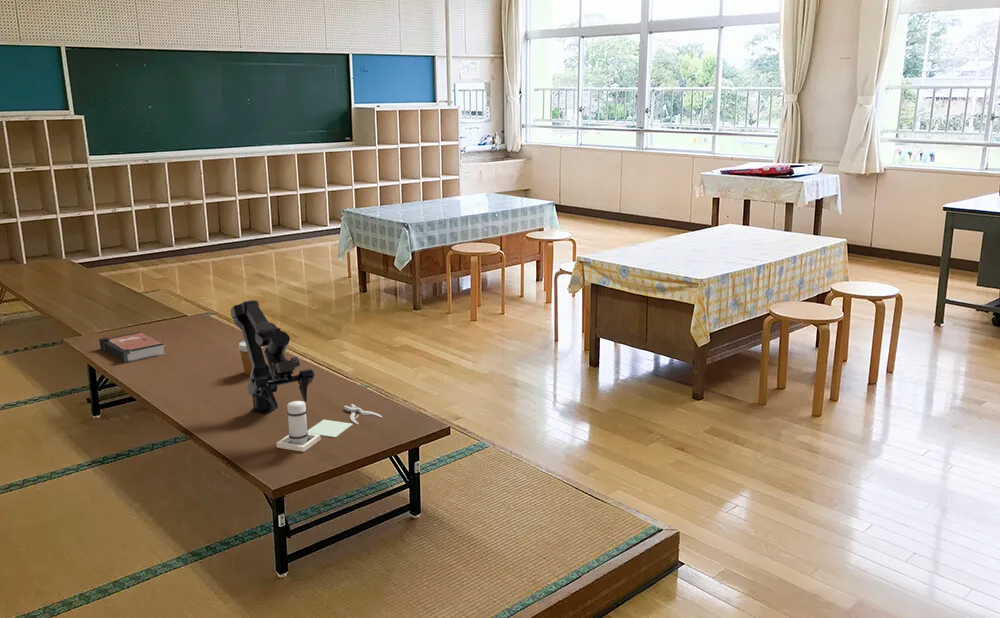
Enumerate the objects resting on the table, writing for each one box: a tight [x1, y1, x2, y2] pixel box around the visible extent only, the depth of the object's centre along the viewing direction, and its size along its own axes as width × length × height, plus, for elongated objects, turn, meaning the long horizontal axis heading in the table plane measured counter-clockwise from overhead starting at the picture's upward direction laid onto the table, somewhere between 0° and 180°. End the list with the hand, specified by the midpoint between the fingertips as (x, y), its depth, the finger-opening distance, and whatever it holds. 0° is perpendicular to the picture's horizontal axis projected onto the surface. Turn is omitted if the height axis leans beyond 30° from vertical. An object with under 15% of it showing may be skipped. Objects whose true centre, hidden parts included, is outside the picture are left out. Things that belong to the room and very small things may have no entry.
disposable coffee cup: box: [237, 340, 264, 376], centre depth 313 cm, size 10×10×12 cm
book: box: [98, 331, 167, 364], centre depth 340 cm, size 26×18×5 cm
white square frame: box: [276, 433, 322, 453], centre depth 251 cm, size 10×10×2 cm
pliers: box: [343, 403, 384, 425], centre depth 274 cm, size 10×2×15 cm
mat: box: [307, 419, 354, 439], centre depth 262 cm, size 11×11×1 cm
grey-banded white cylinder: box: [286, 400, 309, 445], centre depth 249 cm, size 6×6×13 cm
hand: (291, 405), depth 252 cm, fingers open, 9 cm apart
